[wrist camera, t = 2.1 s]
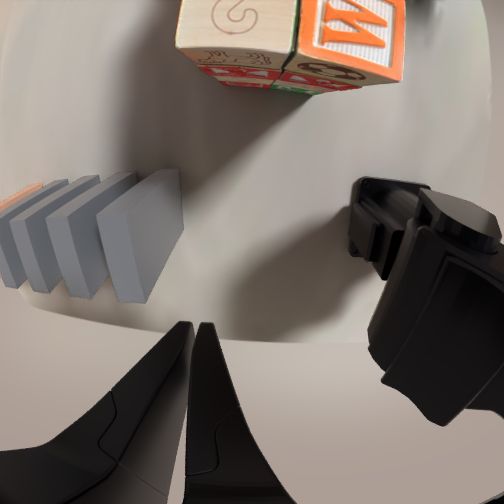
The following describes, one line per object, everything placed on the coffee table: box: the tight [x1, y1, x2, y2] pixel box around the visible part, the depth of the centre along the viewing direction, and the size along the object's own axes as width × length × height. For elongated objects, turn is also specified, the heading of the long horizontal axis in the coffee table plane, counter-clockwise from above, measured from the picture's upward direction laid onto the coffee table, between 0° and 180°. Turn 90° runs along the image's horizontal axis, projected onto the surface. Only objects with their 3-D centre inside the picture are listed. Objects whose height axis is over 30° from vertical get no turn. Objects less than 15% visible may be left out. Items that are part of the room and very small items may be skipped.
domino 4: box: [45, 171, 137, 299], centre depth 16 cm, size 2×5×9 cm, turn 179°
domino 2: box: [0, 179, 69, 289], centre depth 16 cm, size 2×5×9 cm, turn 0°
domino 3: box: [9, 175, 100, 294], centre depth 16 cm, size 2×5×9 cm, turn 179°
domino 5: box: [96, 168, 184, 304], centre depth 16 cm, size 2×5×9 cm, turn 179°
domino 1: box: [0, 183, 42, 278], centre depth 16 cm, size 2×5×9 cm, turn 0°
